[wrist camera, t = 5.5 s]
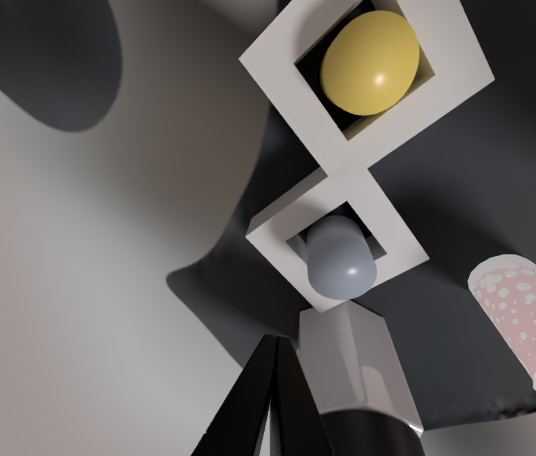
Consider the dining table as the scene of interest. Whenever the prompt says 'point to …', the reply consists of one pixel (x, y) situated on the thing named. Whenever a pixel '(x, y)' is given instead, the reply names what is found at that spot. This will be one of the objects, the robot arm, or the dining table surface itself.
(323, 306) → the light gray housing
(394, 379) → the jar
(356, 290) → the slate button
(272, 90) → the hollow square frame
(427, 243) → the dining table surface
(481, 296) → the beverage cup
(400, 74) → the mustard button
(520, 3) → the dining table surface
